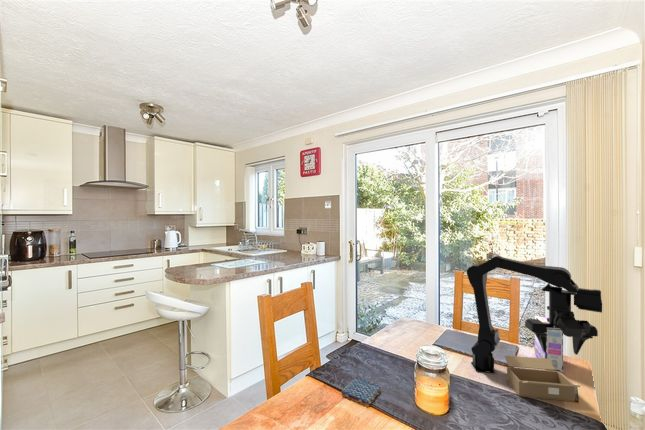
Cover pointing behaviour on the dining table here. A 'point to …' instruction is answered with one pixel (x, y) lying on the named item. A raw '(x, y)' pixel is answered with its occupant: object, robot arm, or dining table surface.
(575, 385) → the front flap
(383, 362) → the dining table surface
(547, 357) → the candy box
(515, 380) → the carton
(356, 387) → the woven mat
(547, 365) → the back flap
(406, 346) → the dining table surface
